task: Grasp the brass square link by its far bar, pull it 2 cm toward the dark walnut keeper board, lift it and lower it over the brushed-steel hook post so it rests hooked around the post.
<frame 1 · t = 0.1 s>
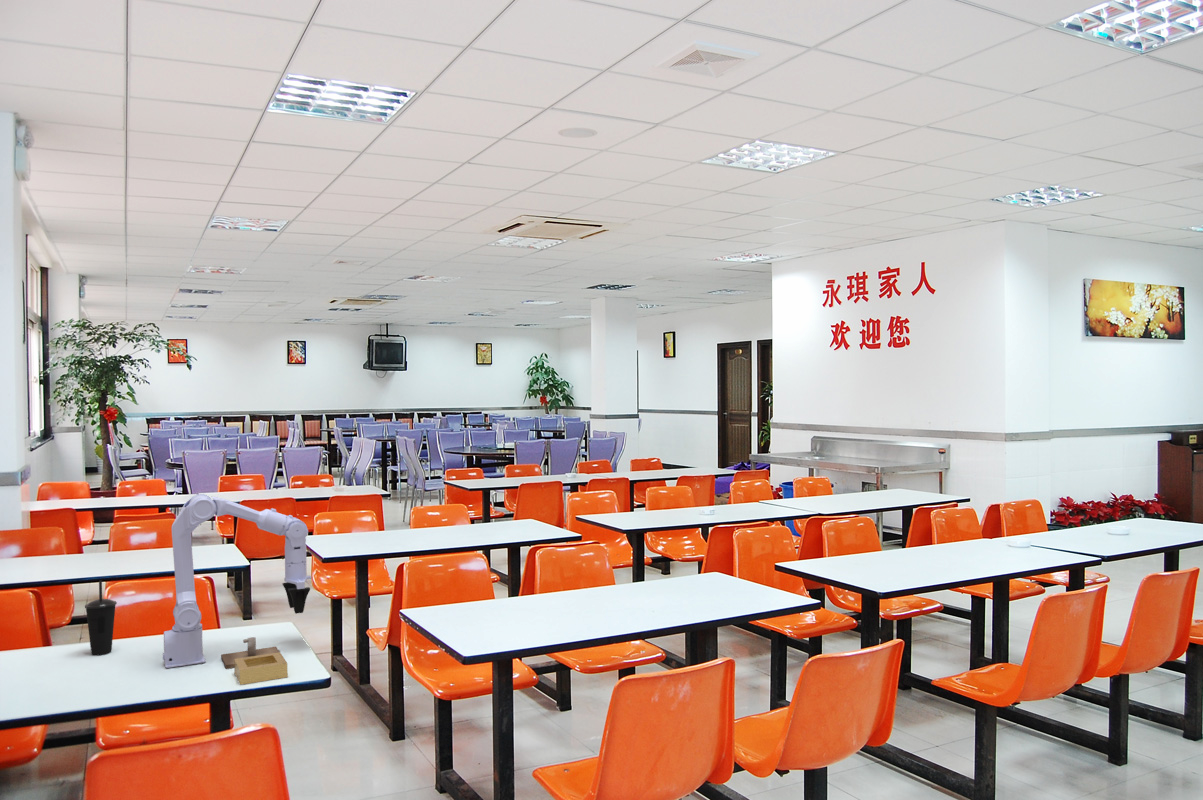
hand: (296, 610, 244), 10 cm above the table, fingers open, 7 cm apart
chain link: (260, 674, 218), on the table
keeper board: (251, 659, 232), on the table
drinking cup: (101, 653, 240), on the table
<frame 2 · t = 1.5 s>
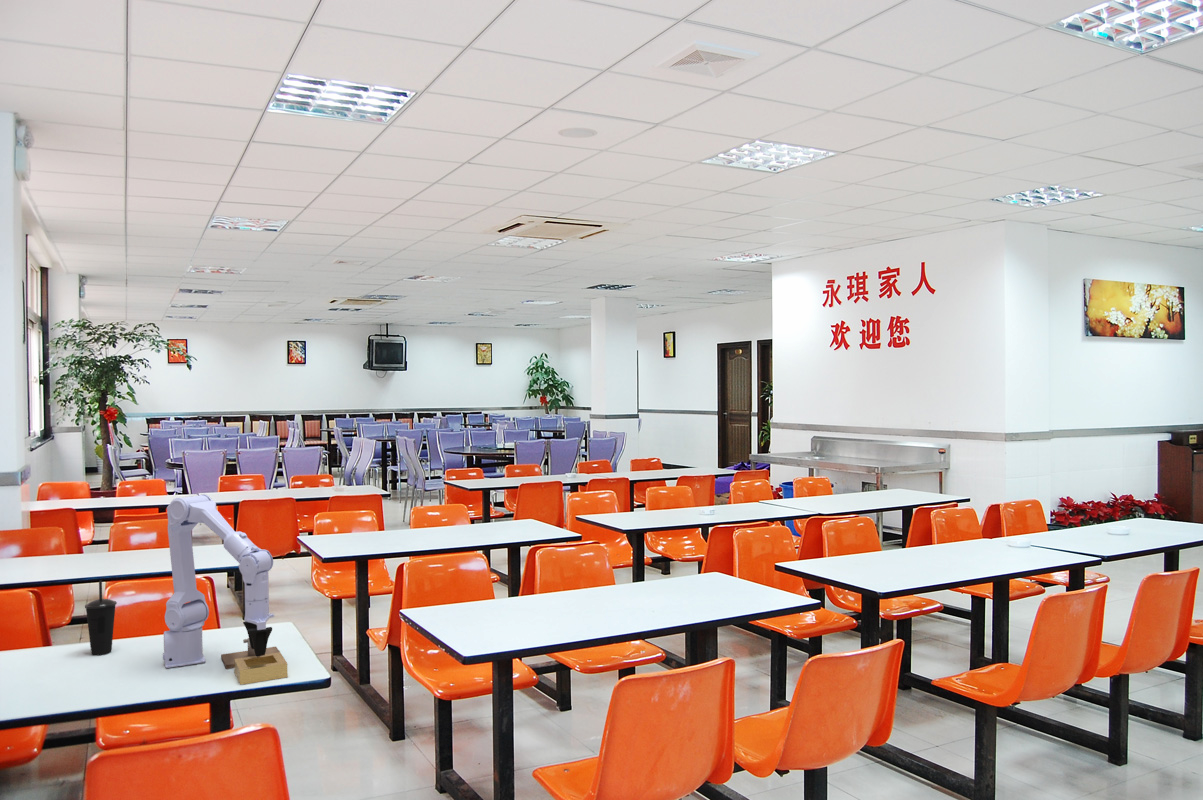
hand: (258, 651, 222), 5 cm above the table, fingers open, 7 cm apart
nothing on the table moved.
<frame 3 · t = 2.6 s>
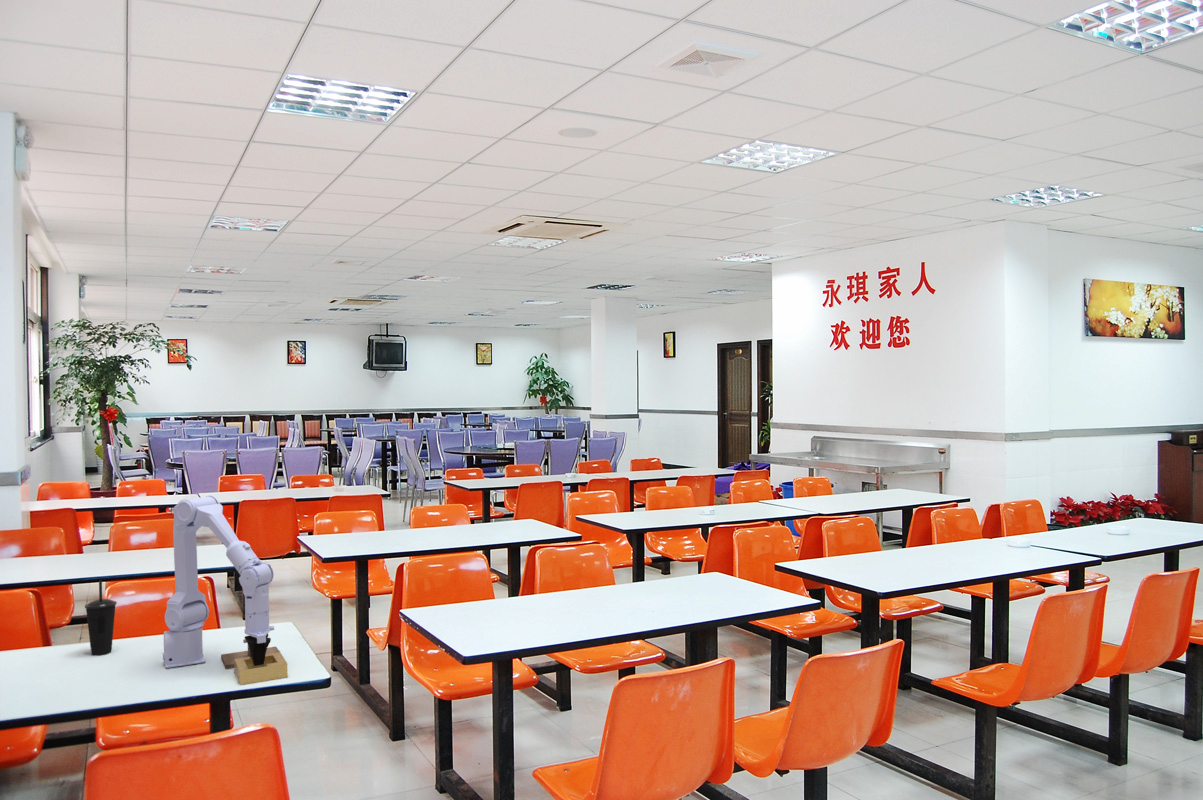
hand: (257, 664, 222), 1 cm above the table, fingers closed on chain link, 2 cm apart
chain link: (260, 674, 218), on the table, touching gripper
everything else where it was.
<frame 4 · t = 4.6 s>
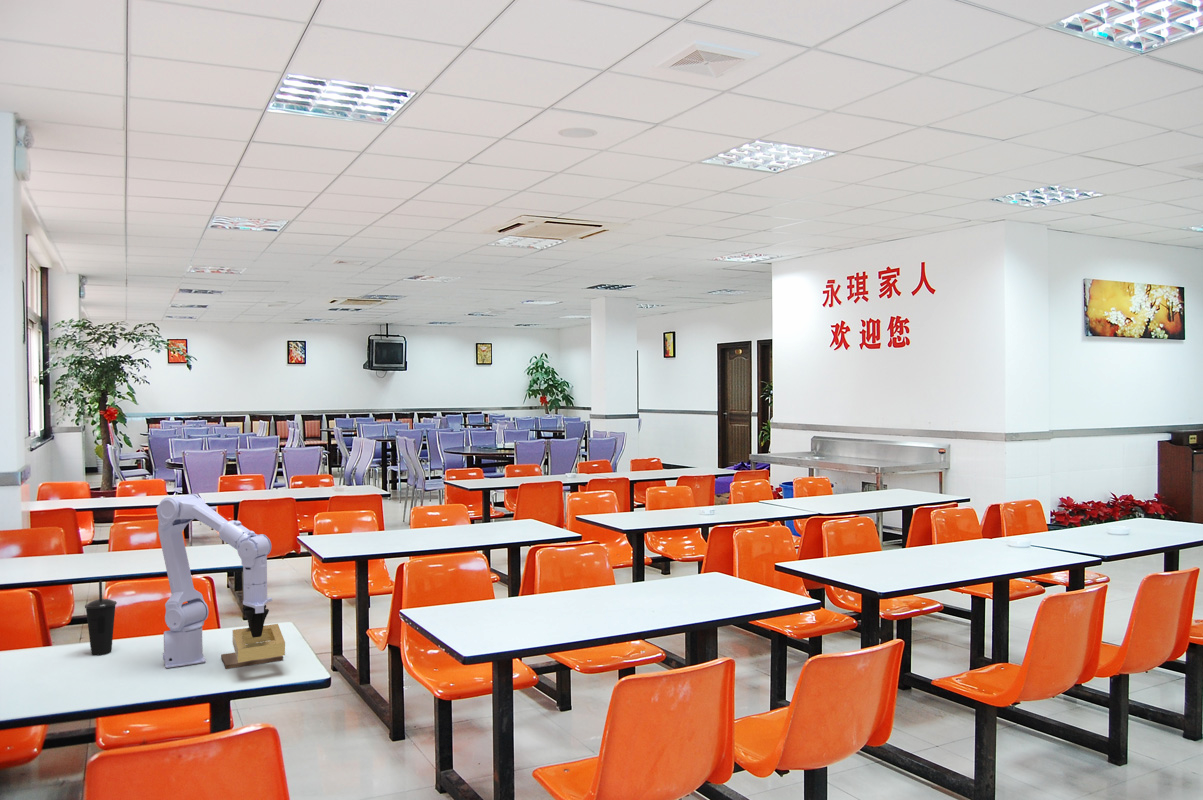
hand: (256, 635, 224), 8 cm above the table, fingers closed on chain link, 2 cm apart
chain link: (258, 648, 221), point 6 cm above the table, tilted 12°, touching gripper
everything else where it was.
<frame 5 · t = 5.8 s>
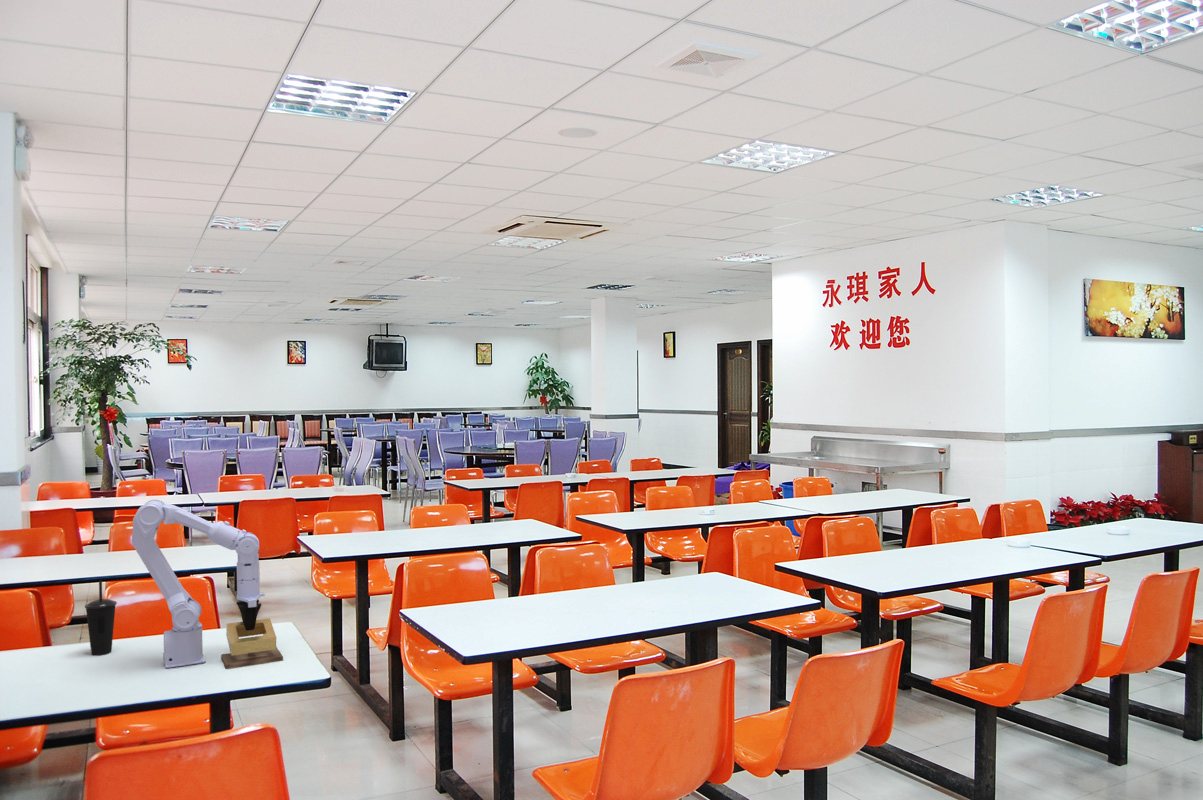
hand: (249, 628, 236), 7 cm above the table, fingers closed on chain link, 2 cm apart
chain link: (250, 642, 232), point 4 cm above the table, tilted 15°, touching gripper
everything else where it was.
when the fingers open (4 cm above the table, at t = 6.8 s): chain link stays where it is, resting on keeper board.
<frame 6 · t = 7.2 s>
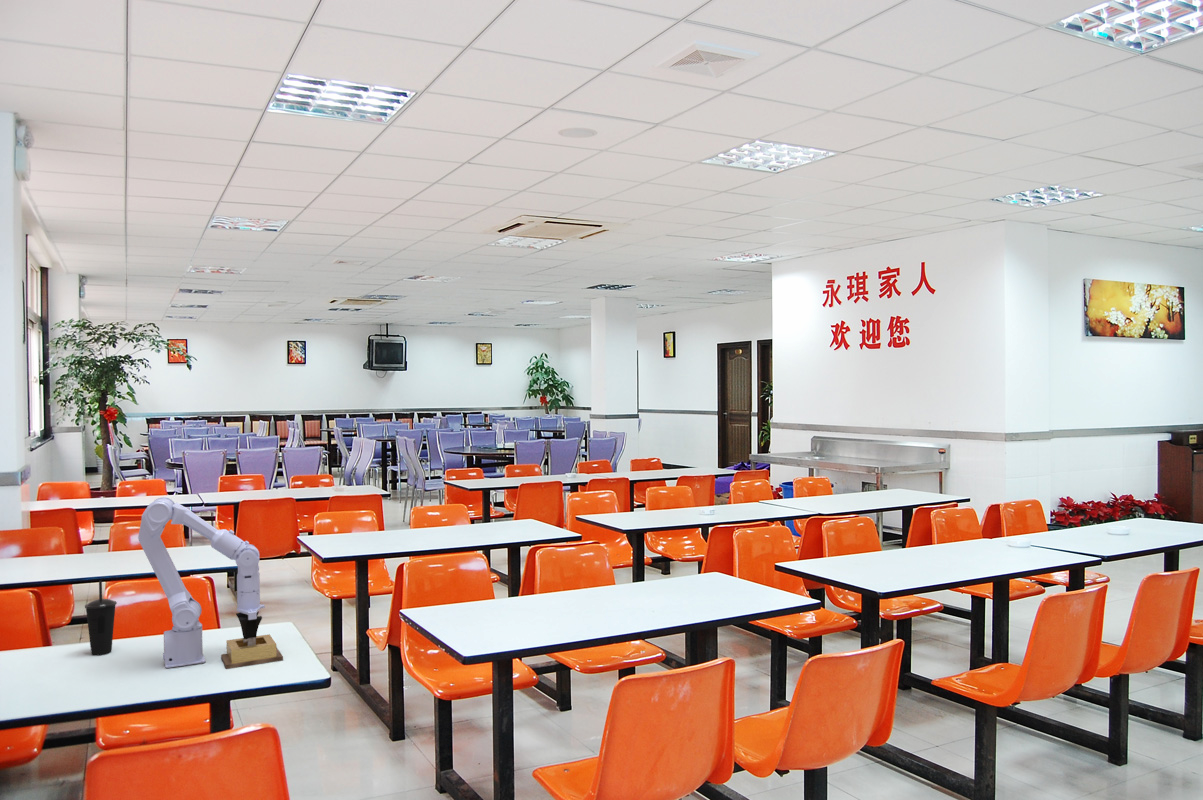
hand: (249, 640, 236), 4 cm above the table, fingers open, 4 cm apart
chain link: (251, 655, 232), point 1 cm above the table, touching keeper board
everything else where it was.
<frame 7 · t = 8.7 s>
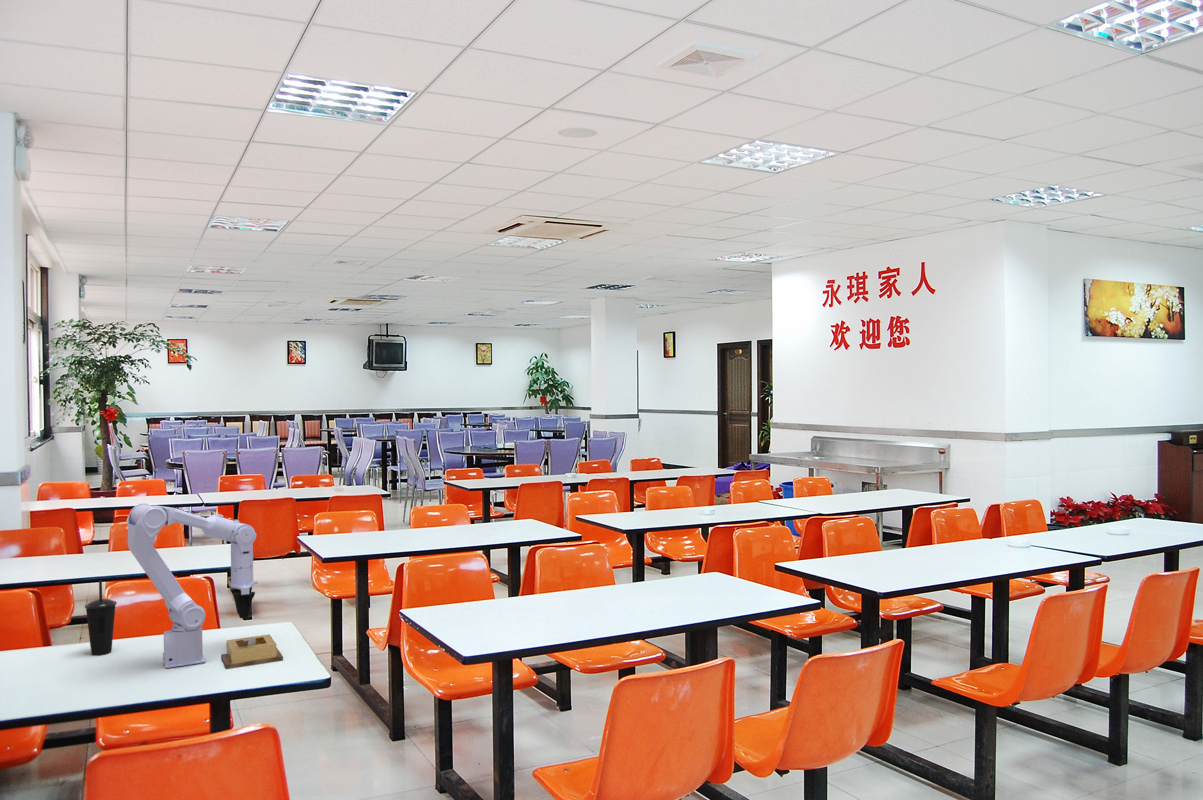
hand: (242, 615, 241), 9 cm above the table, fingers open, 4 cm apart
nothing on the table moved.
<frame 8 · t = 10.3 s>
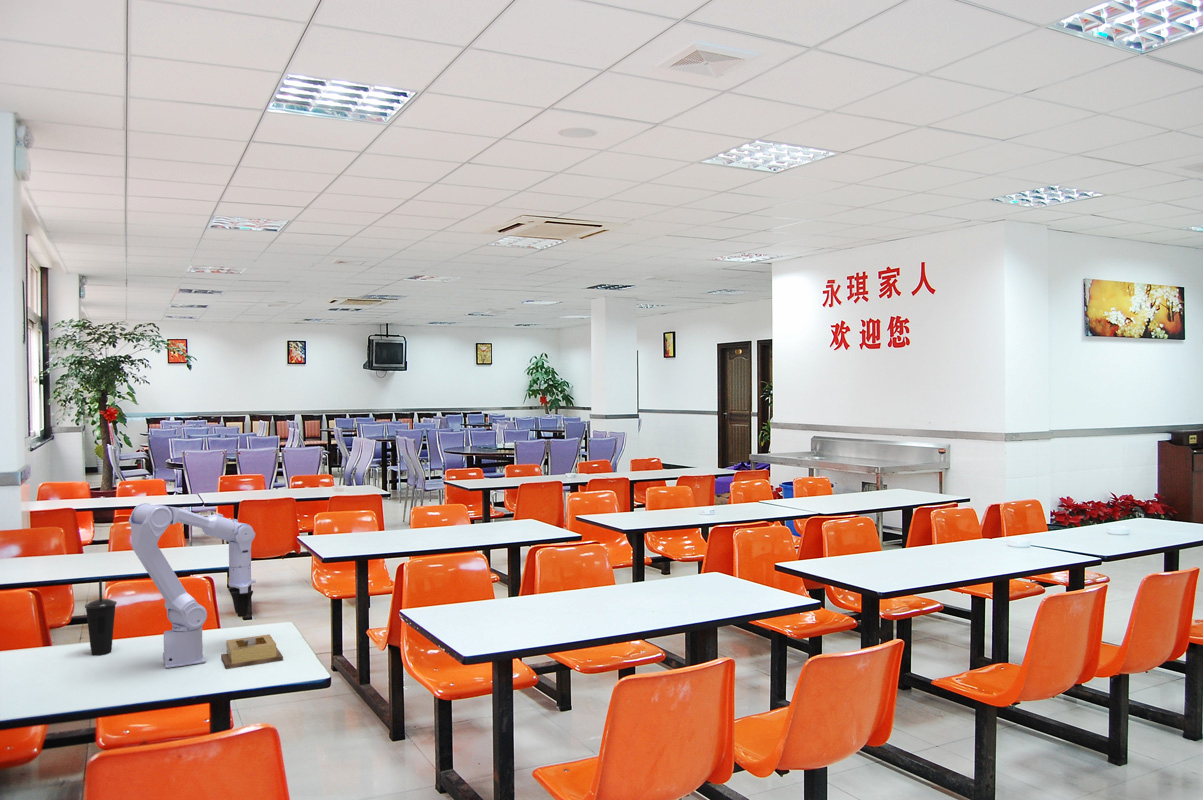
hand: (240, 614, 243), 9 cm above the table, fingers open, 4 cm apart
nothing on the table moved.
at the end: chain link 0.4 cm off-centre on the keeper board, point 1.0 cm above the keeper board's base; the gripper is holding nothing; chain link tilted 0° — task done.
